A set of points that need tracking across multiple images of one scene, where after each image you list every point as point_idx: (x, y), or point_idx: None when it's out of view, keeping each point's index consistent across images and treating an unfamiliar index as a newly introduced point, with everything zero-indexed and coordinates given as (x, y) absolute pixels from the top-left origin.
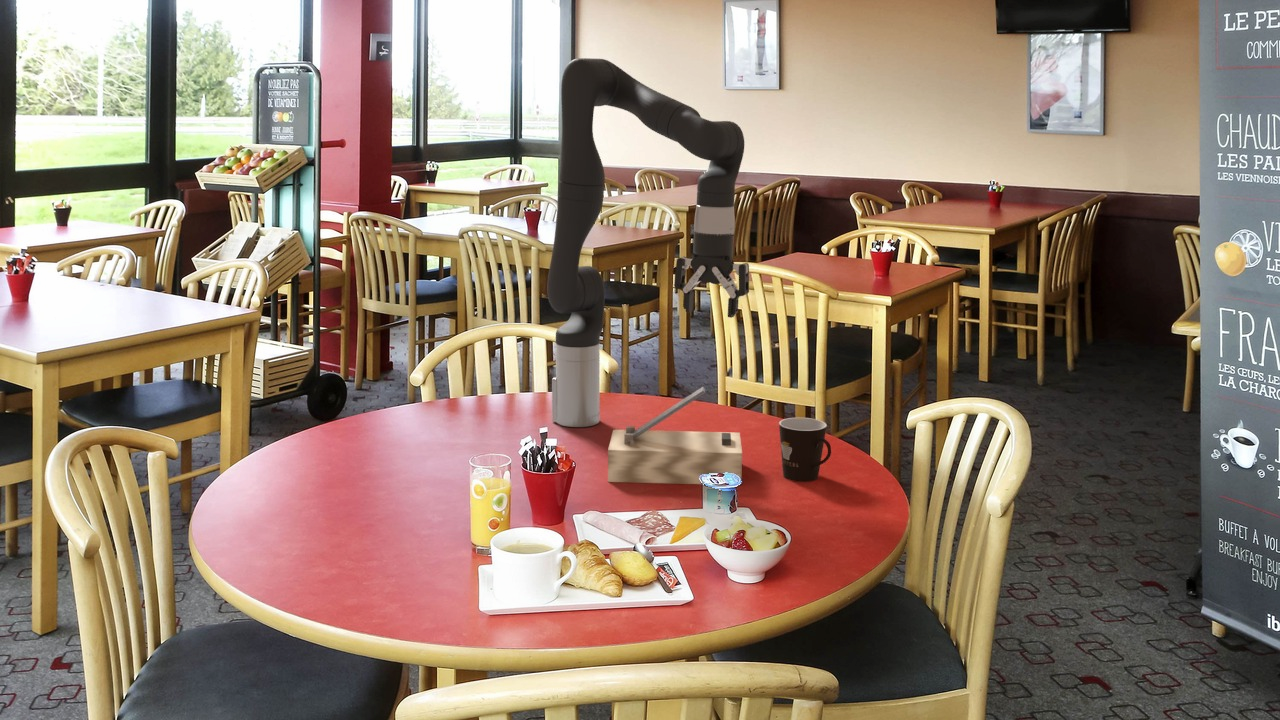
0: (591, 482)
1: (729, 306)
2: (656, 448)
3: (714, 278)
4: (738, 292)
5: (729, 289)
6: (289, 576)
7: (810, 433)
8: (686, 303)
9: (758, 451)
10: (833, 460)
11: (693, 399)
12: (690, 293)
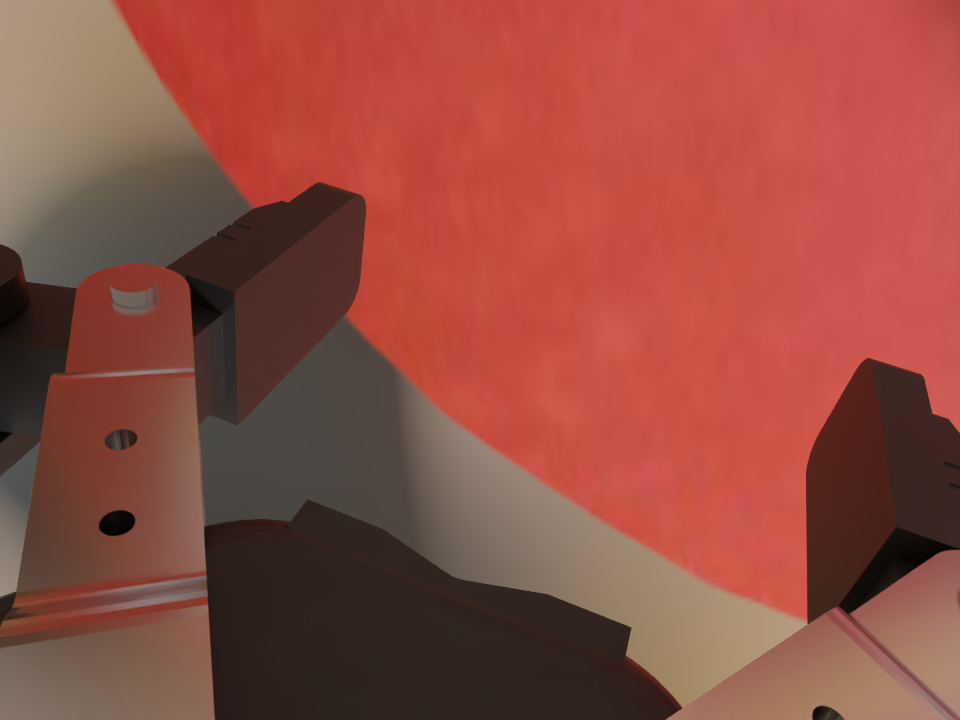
0: None
1: (279, 234)
2: None
3: (308, 606)
4: (36, 322)
5: (125, 357)
6: None
7: None
8: (928, 432)
9: (493, 65)
10: (224, 7)
11: None
12: (875, 563)
